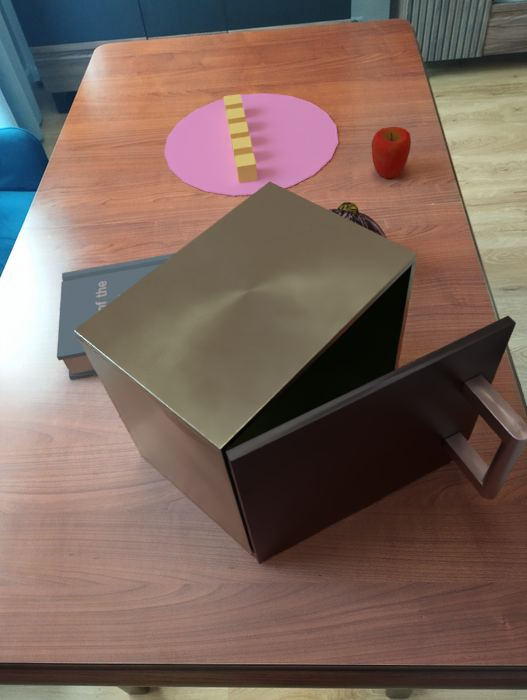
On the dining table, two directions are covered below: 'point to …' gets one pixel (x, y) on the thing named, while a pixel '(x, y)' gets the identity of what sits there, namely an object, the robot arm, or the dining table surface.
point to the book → (93, 304)
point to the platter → (251, 143)
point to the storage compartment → (248, 337)
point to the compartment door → (378, 443)
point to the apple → (390, 151)
